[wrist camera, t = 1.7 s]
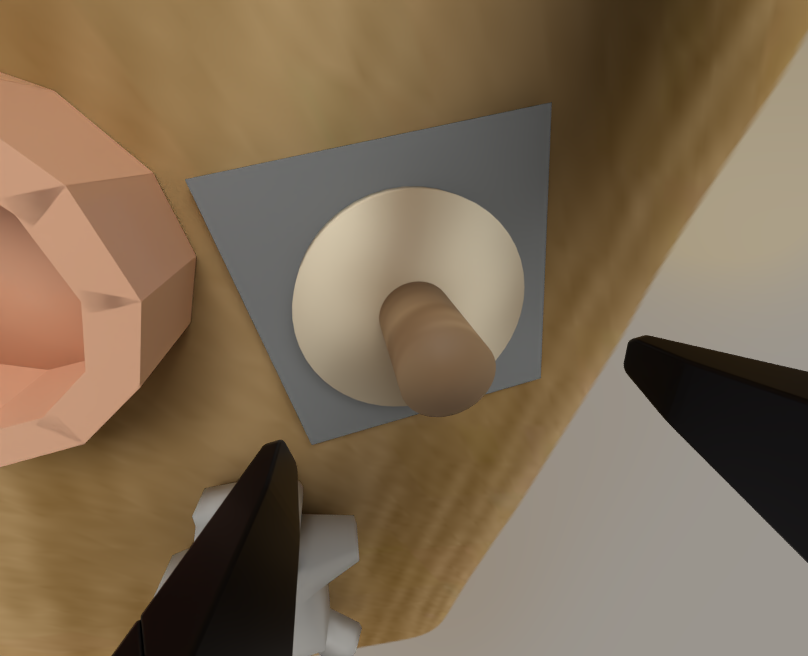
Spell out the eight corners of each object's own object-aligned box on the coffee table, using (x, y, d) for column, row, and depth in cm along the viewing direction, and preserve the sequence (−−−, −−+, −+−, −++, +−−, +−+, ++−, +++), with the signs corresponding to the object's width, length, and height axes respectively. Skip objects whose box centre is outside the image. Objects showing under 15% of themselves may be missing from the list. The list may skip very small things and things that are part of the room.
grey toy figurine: (348, 515, 14) (380, 693, 20) (344, 435, 18) (371, 597, 24) (94, 571, 12) (209, 746, 18) (159, 468, 17) (234, 633, 23)
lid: (510, 160, 12) (618, 168, 7) (513, 362, 16) (581, 439, 12) (254, 219, 11) (207, 268, 7) (334, 413, 15) (337, 517, 11)
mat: (541, 104, 12) (551, 102, 11) (534, 371, 18) (540, 378, 17) (191, 178, 10) (184, 179, 10) (312, 435, 16) (311, 444, 16)
